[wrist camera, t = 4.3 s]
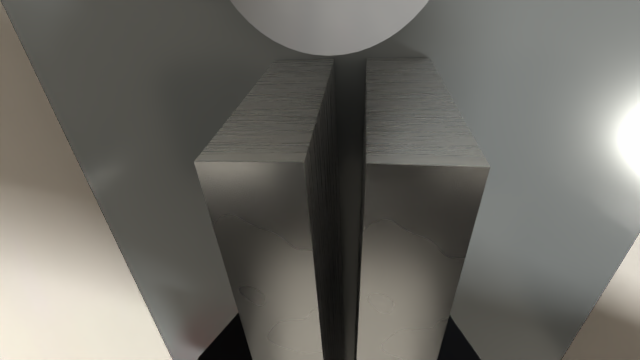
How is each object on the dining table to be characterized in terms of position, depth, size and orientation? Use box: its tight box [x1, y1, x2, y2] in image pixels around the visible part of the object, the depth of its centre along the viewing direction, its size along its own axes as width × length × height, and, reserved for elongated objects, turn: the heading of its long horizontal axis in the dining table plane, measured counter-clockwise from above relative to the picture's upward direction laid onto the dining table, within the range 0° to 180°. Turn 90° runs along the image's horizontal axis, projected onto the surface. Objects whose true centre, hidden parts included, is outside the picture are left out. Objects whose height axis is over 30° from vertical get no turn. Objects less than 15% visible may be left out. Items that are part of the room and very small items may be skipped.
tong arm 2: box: [194, 59, 345, 360], centre depth 9 cm, size 2×12×4 cm, turn 4°
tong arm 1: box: [354, 58, 490, 360], centre depth 9 cm, size 2×12×4 cm, turn 2°
